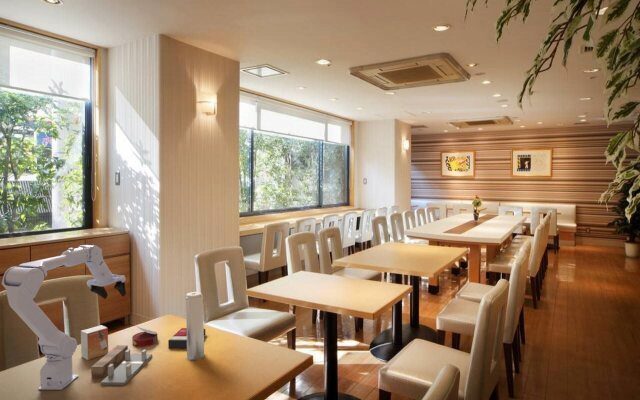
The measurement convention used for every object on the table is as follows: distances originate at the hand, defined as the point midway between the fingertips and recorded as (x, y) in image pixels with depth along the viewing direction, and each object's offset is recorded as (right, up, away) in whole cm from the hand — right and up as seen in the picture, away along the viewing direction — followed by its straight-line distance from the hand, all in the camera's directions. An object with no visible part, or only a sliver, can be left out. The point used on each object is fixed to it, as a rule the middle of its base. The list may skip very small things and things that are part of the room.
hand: (115, 295), depth 164 cm
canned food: (+8, -22, +10) cm, 26 cm away
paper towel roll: (+33, -23, -4) cm, 41 cm away
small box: (-7, -23, -2) cm, 24 cm away
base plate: (+12, -23, -15) cm, 30 cm away
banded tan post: (+4, -23, -12) cm, 26 cm away
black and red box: (+25, -22, +11) cm, 36 cm away
